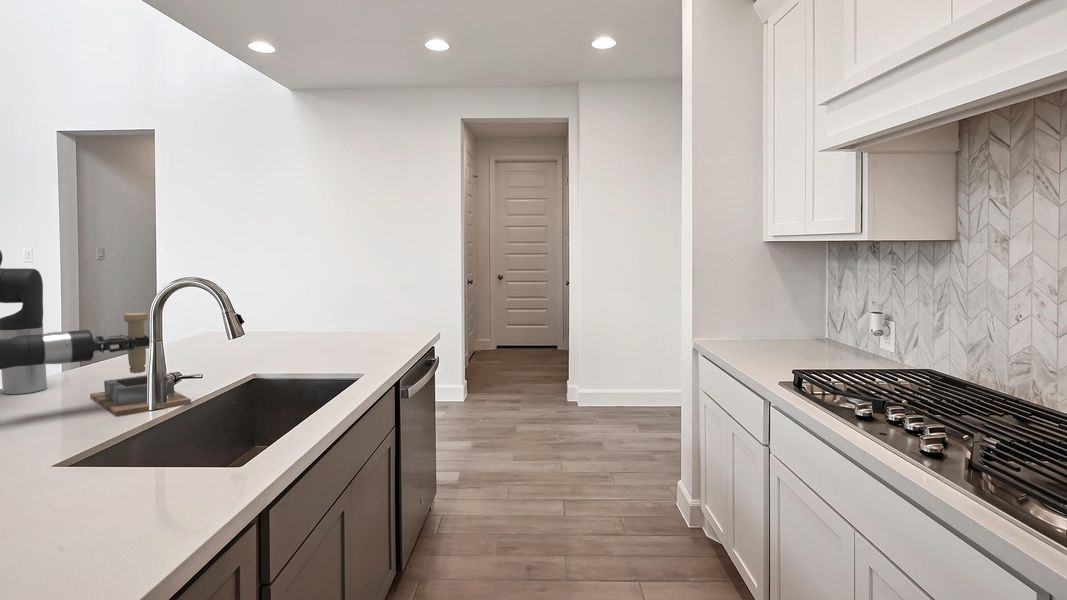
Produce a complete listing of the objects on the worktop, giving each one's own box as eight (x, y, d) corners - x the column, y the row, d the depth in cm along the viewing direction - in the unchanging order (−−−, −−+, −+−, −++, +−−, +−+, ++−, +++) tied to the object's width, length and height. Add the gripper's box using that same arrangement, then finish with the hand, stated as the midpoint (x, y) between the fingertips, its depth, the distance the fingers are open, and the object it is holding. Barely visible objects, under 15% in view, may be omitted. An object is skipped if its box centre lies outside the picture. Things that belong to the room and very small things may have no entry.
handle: (125, 375, 150) (123, 315, 149) (127, 370, 156) (125, 313, 154) (148, 373, 153) (146, 314, 151) (149, 369, 158) (147, 312, 157)
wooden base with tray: (90, 398, 157) (89, 378, 157) (159, 387, 169) (158, 369, 169) (116, 416, 141) (115, 394, 141) (190, 403, 153) (190, 383, 153)
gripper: (72, 334, 138) (157, 328, 151) (59, 328, 147) (140, 323, 160) (74, 366, 138) (159, 358, 151) (60, 359, 148) (141, 351, 161)
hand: (149, 340), depth 156 cm, fingers closed on handle, 3 cm apart
